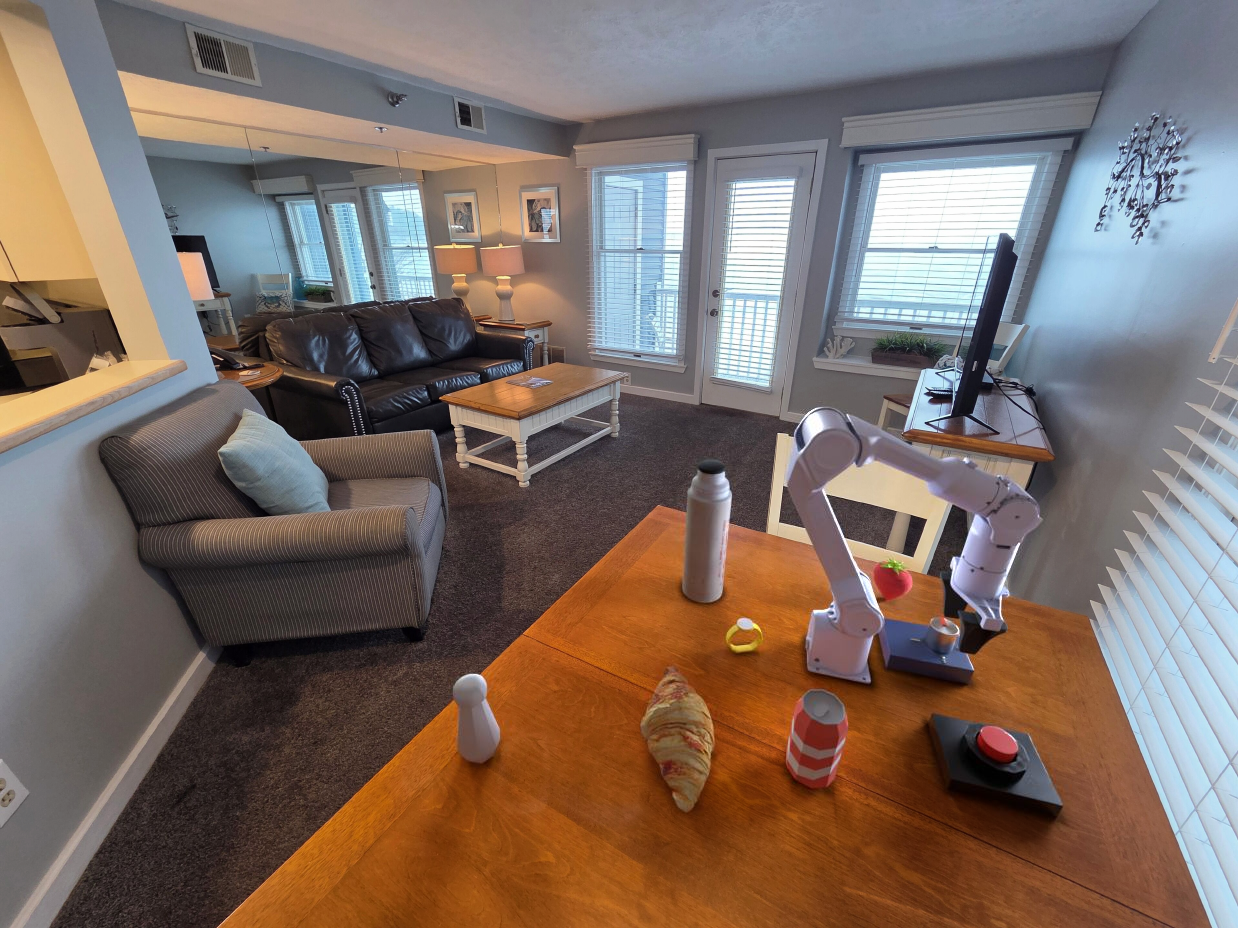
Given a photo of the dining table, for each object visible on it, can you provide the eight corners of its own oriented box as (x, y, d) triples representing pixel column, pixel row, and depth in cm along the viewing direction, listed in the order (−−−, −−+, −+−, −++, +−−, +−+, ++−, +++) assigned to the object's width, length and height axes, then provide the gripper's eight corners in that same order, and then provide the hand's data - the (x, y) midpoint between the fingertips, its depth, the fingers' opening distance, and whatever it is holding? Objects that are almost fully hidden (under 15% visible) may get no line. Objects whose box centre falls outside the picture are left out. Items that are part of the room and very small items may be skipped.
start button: (982, 758, 65) (987, 749, 64) (972, 731, 68) (976, 722, 67) (1018, 766, 64) (1023, 757, 63) (1006, 738, 67) (1010, 729, 66)
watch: (756, 642, 88) (760, 616, 85) (762, 654, 86) (766, 627, 83) (723, 645, 88) (726, 618, 85) (728, 657, 85) (731, 630, 82)
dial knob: (955, 655, 81) (962, 635, 79) (927, 650, 82) (934, 630, 80) (948, 638, 84) (955, 618, 83) (921, 633, 85) (928, 613, 84)
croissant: (707, 834, 63) (742, 800, 60) (637, 814, 61) (670, 777, 58) (685, 691, 82) (711, 660, 79) (631, 672, 80) (655, 639, 77)
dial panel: (886, 667, 83) (890, 653, 81) (877, 629, 90) (881, 616, 89) (969, 684, 80) (975, 669, 78) (953, 643, 87) (958, 629, 86)
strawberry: (888, 615, 94) (900, 571, 90) (859, 590, 100) (870, 548, 96) (913, 608, 95) (926, 565, 91) (884, 584, 102) (895, 543, 98)
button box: (947, 789, 65) (955, 769, 63) (927, 723, 73) (934, 704, 72) (1057, 816, 62) (1069, 796, 60) (1023, 744, 70) (1033, 724, 69)
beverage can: (775, 764, 68) (787, 702, 63) (803, 738, 71) (816, 677, 66) (815, 801, 63) (831, 738, 58) (842, 771, 67) (860, 708, 62)
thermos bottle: (728, 585, 102) (741, 461, 90) (713, 608, 96) (725, 478, 84) (692, 572, 106) (700, 451, 94) (675, 593, 100) (681, 467, 88)
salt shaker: (464, 777, 67) (449, 709, 61) (455, 741, 71) (441, 676, 66) (507, 757, 69) (496, 690, 64) (496, 724, 74) (485, 659, 68)
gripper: (1041, 598, 64) (1007, 675, 70) (997, 537, 77) (971, 606, 82) (978, 589, 66) (950, 664, 72) (945, 531, 78) (924, 599, 84)
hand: (958, 633), depth 77 cm, fingers open, 7 cm apart
